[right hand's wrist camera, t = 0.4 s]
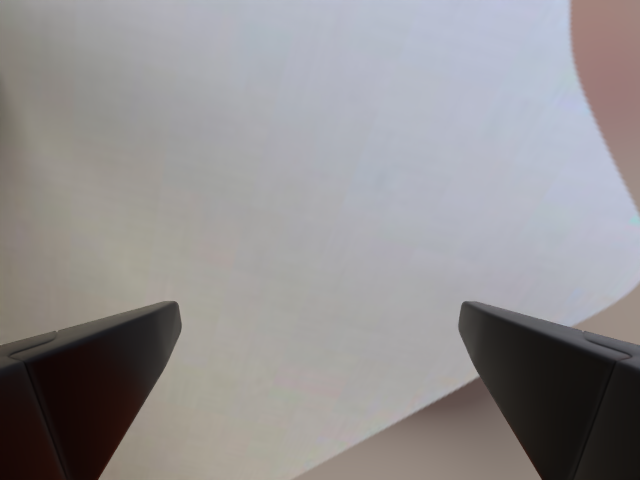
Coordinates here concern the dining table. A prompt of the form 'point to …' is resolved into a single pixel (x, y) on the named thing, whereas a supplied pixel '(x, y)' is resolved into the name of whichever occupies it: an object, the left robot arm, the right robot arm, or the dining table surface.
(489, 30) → the dining table surface
